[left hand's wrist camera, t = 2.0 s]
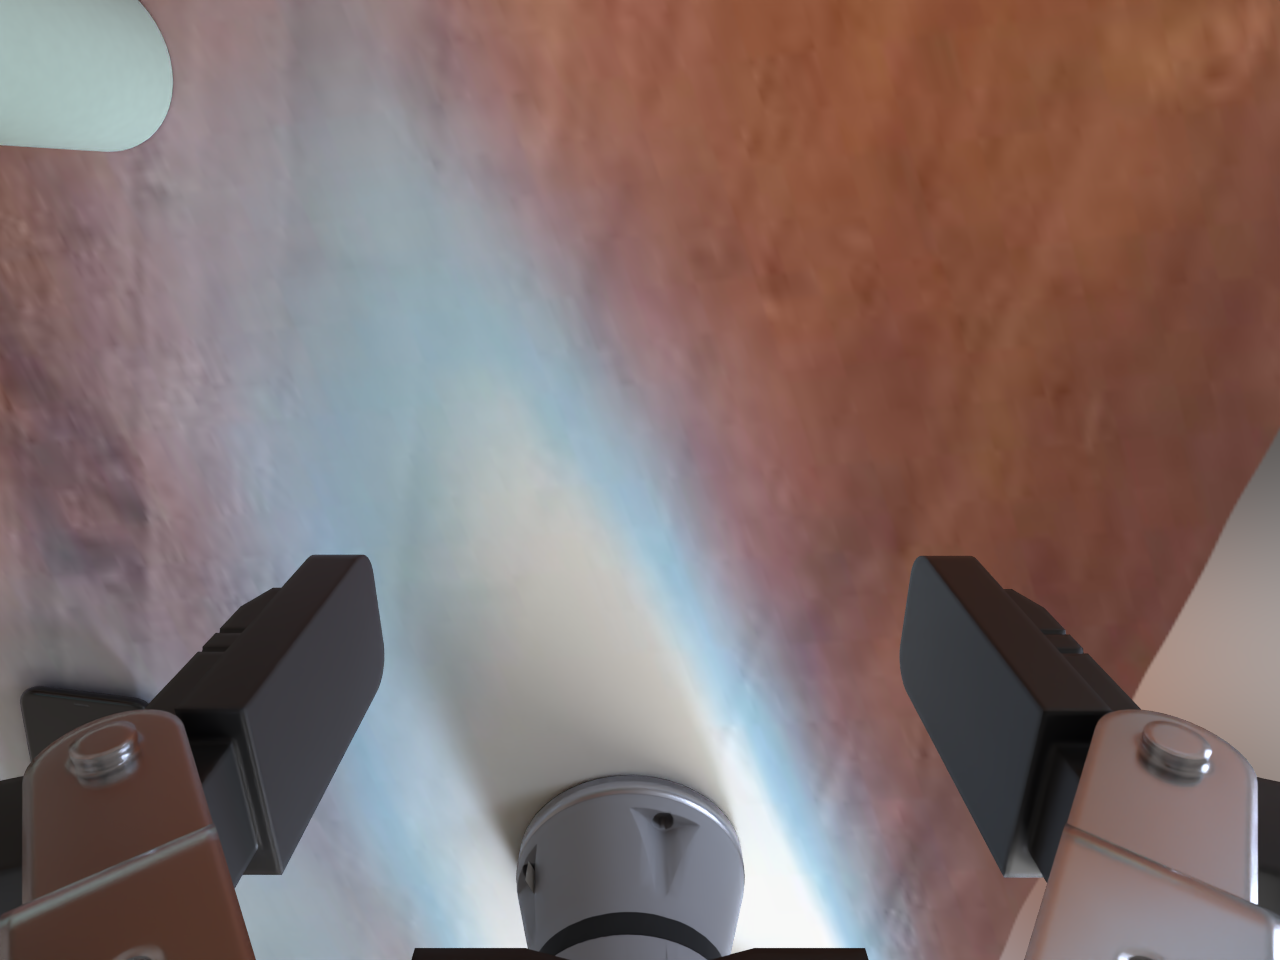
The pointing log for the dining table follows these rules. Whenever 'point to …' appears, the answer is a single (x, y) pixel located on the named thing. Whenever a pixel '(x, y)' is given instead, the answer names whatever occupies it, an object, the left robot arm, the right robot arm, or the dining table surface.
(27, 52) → the bottle
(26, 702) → the smartphone
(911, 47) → the dining table surface
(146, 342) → the dining table surface
